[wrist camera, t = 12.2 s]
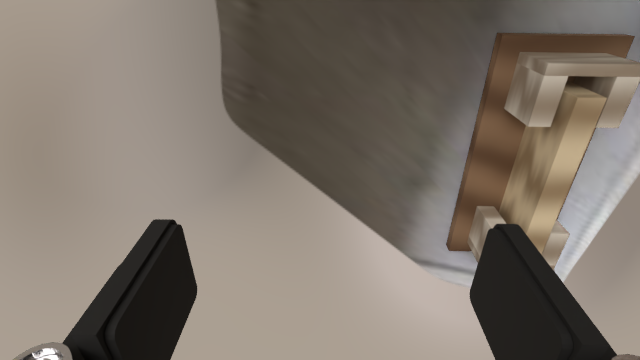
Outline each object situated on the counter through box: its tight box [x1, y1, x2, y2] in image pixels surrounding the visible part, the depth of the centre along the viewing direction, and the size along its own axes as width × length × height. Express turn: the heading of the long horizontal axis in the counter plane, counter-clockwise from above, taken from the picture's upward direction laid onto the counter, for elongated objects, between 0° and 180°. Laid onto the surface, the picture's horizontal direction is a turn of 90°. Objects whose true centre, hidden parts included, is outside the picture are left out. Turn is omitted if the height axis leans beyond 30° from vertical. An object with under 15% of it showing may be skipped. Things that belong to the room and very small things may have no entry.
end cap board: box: [446, 33, 640, 270], centre depth 37 cm, size 26×12×6 cm, turn 179°
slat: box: [499, 81, 607, 255], centre depth 36 cm, size 18×2×6 cm, turn 0°
